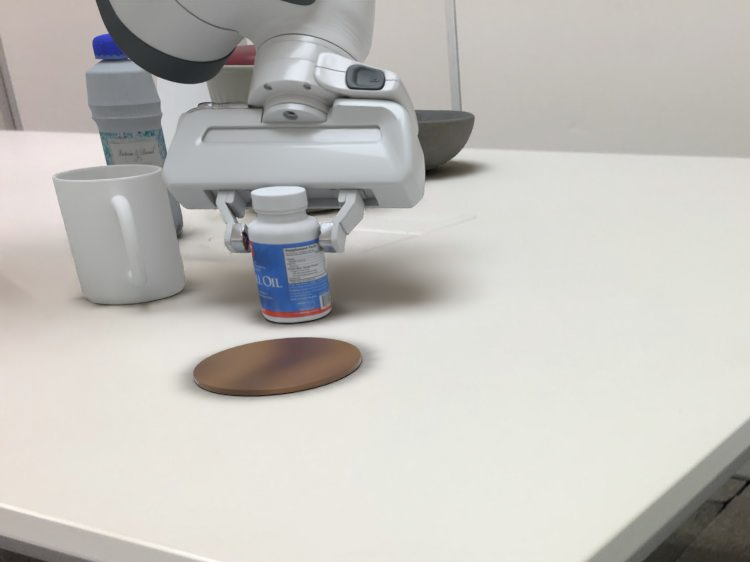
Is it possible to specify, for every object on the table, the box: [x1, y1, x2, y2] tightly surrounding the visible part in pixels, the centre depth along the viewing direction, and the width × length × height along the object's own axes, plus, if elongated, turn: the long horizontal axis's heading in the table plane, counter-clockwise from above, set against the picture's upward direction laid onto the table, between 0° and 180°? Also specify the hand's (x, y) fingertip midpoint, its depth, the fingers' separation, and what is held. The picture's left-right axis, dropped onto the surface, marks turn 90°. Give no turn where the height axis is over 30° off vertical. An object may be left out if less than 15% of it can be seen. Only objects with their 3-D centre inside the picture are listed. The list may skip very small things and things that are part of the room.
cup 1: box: [51, 164, 186, 305], centre depth 84 cm, size 8×12×10 cm
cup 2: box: [156, 76, 212, 153], centre depth 141 cm, size 13×13×14 cm
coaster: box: [192, 336, 362, 397], centre depth 70 cm, size 11×11×1 cm
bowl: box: [414, 109, 476, 171], centre depth 144 cm, size 21×21×8 cm
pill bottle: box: [247, 186, 333, 324], centre depth 79 cm, size 6×5×10 cm
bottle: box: [84, 33, 184, 237], centre depth 104 cm, size 7×7×20 cm
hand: (284, 249), depth 78 cm, fingers open, 6 cm apart
